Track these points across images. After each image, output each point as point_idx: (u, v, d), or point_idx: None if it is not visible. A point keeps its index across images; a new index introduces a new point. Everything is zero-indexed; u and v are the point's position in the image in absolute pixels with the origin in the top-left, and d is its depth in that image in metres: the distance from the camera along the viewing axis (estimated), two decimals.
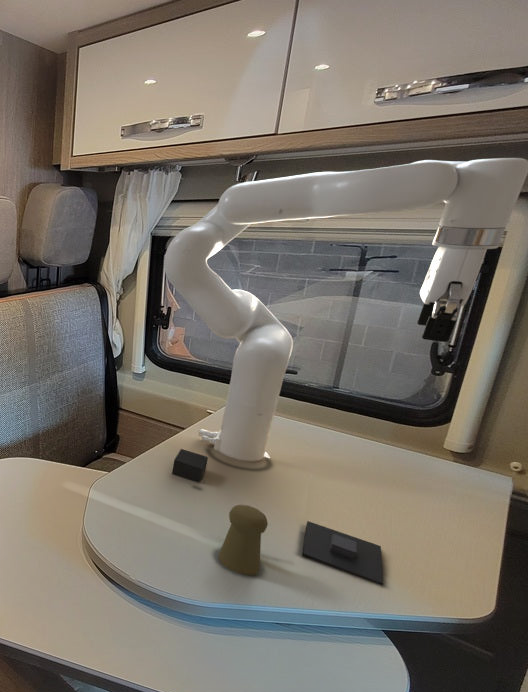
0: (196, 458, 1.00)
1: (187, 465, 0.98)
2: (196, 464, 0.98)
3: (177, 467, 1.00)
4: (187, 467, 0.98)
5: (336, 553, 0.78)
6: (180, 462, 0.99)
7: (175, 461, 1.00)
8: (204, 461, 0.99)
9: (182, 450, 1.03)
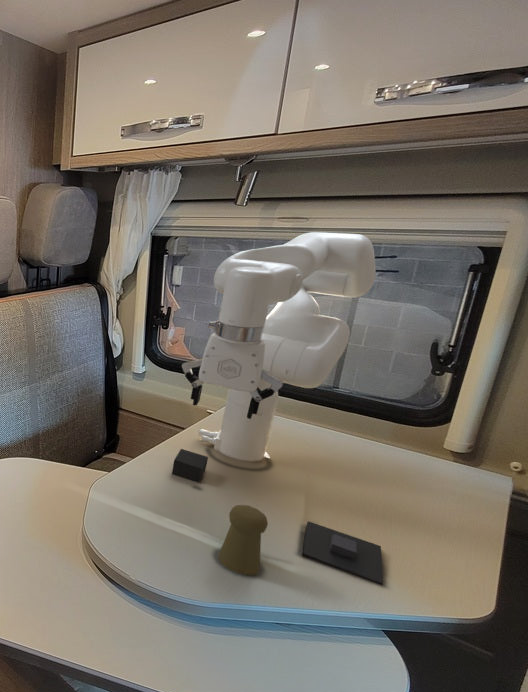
0: (196, 458, 1.00)
1: (187, 465, 0.98)
2: (196, 464, 0.98)
3: (177, 467, 1.00)
4: (187, 467, 0.98)
5: (336, 553, 0.78)
6: (180, 462, 0.99)
7: (175, 461, 1.00)
8: (204, 461, 0.99)
9: (182, 450, 1.03)
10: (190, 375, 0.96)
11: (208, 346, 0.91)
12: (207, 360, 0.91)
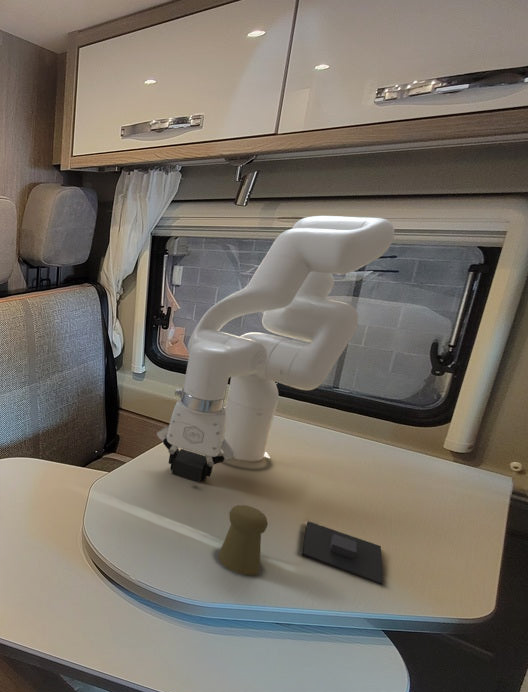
0: (196, 458, 1.00)
1: (187, 465, 0.98)
2: (196, 464, 0.98)
3: (177, 467, 1.00)
4: (187, 467, 0.98)
5: (336, 553, 0.78)
6: (180, 462, 0.99)
7: (175, 461, 1.00)
8: (204, 461, 0.99)
9: (182, 450, 1.03)
10: (167, 442, 1.02)
11: (174, 412, 0.97)
12: (174, 425, 0.98)
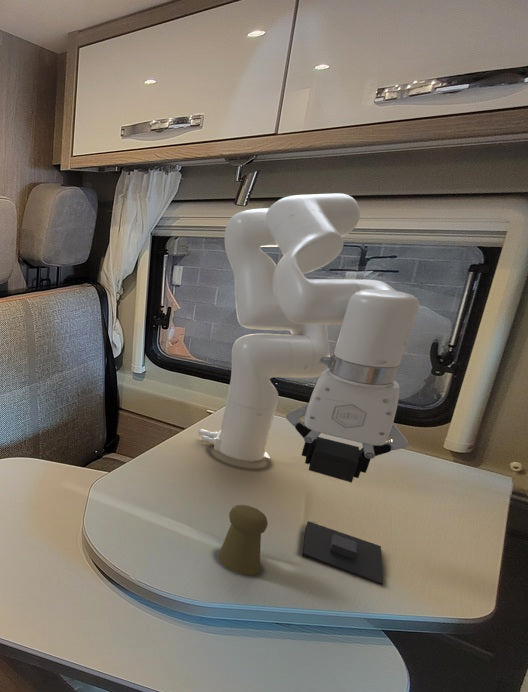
0: (344, 448, 0.76)
1: (335, 457, 0.74)
2: (347, 456, 0.74)
3: (318, 460, 0.76)
4: (334, 460, 0.74)
5: (336, 553, 0.78)
6: (324, 453, 0.75)
7: (316, 452, 0.76)
8: (356, 452, 0.74)
9: (320, 438, 0.79)
10: (302, 427, 0.77)
11: (320, 387, 0.73)
12: (318, 404, 0.74)
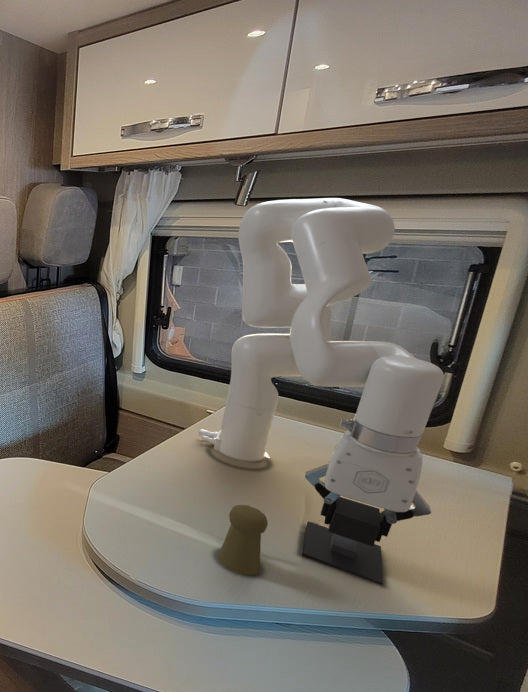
0: (364, 510, 0.75)
1: (356, 521, 0.73)
2: (369, 519, 0.73)
3: (339, 522, 0.75)
4: (355, 523, 0.74)
5: (336, 553, 0.78)
6: (344, 516, 0.74)
7: (336, 514, 0.75)
8: (377, 515, 0.74)
9: (339, 498, 0.78)
10: (322, 488, 0.77)
11: (341, 451, 0.72)
12: (339, 467, 0.73)
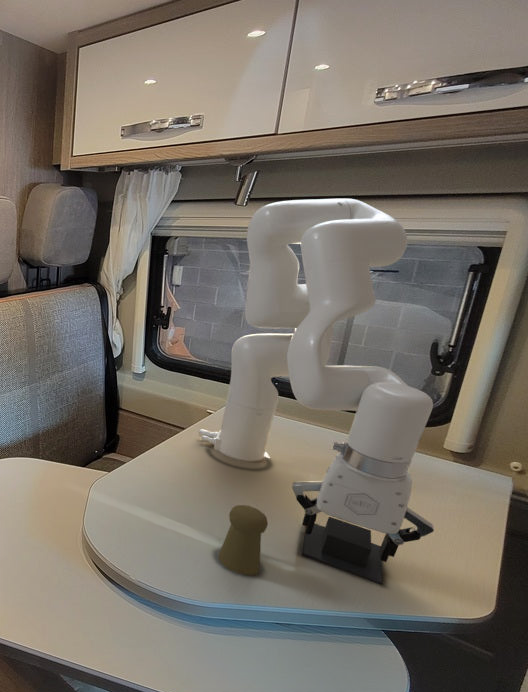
0: (356, 532, 0.77)
1: (347, 543, 0.75)
2: (360, 542, 0.75)
3: (331, 544, 0.77)
4: (347, 545, 0.75)
5: None
6: (336, 538, 0.76)
7: (329, 536, 0.77)
8: (369, 537, 0.76)
9: (332, 519, 0.80)
10: (303, 499, 0.79)
11: (333, 473, 0.74)
12: (331, 489, 0.75)
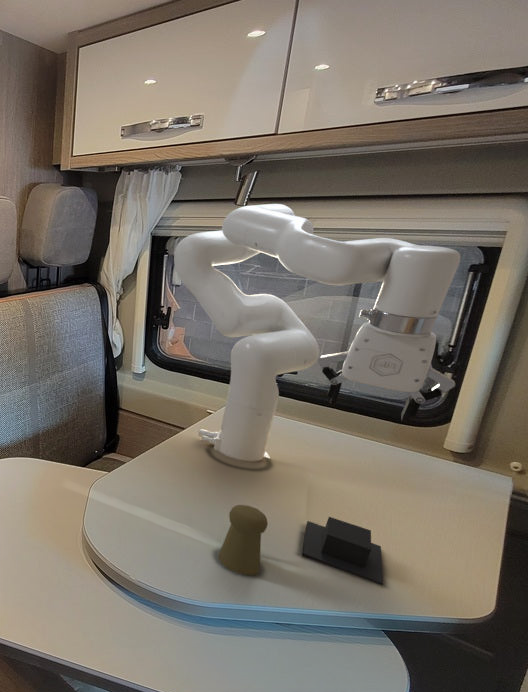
0: (356, 532, 0.77)
1: (347, 543, 0.75)
2: (360, 542, 0.75)
3: (331, 544, 0.77)
4: (347, 545, 0.75)
5: None
6: (336, 538, 0.76)
7: (329, 536, 0.77)
8: (369, 537, 0.76)
9: (332, 519, 0.80)
10: (329, 370, 0.84)
11: (359, 338, 0.78)
12: (356, 354, 0.79)
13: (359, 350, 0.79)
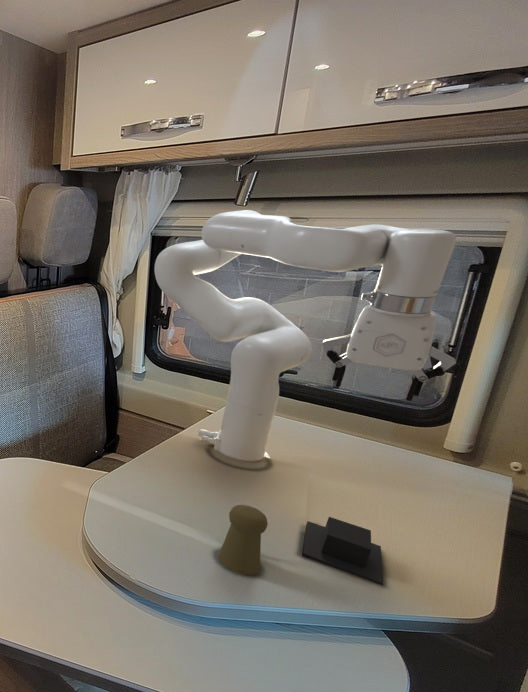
0: (356, 532, 0.77)
1: (347, 543, 0.75)
2: (360, 542, 0.75)
3: (331, 544, 0.77)
4: (347, 545, 0.75)
5: None
6: (336, 538, 0.76)
7: (329, 536, 0.77)
8: (369, 537, 0.76)
9: (332, 519, 0.80)
10: (333, 354, 0.86)
11: (362, 320, 0.81)
12: (360, 336, 0.82)
13: (362, 332, 0.81)
